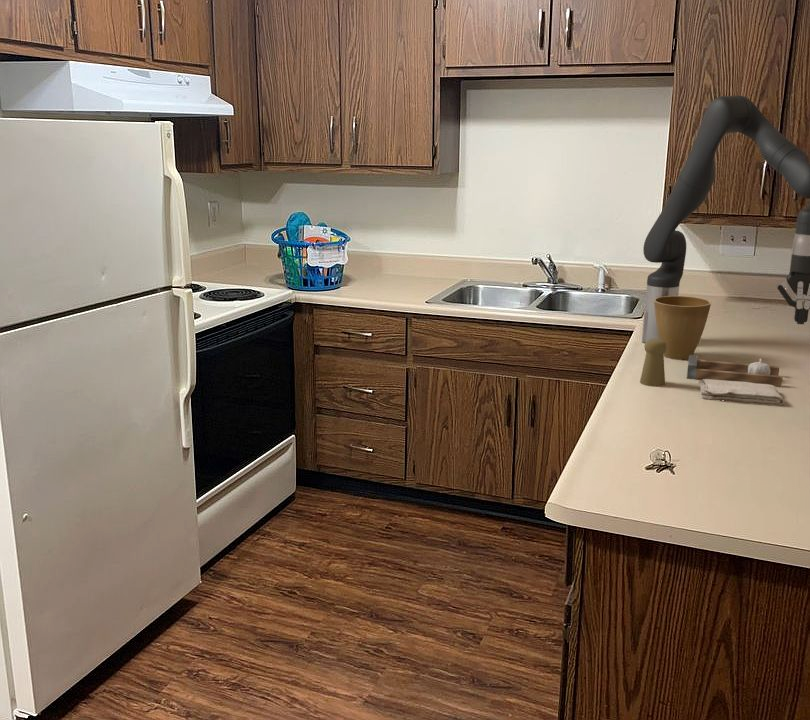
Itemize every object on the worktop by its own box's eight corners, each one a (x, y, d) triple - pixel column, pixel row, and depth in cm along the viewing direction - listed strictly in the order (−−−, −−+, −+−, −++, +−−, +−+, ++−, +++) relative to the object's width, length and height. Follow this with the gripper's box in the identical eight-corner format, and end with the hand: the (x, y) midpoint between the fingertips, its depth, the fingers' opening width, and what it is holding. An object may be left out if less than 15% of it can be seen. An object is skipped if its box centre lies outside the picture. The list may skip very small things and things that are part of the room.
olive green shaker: (634, 380, 205) (638, 338, 202) (654, 378, 207) (658, 336, 204) (649, 387, 200) (653, 343, 197) (670, 385, 202) (674, 341, 199)
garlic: (752, 375, 211) (755, 355, 210) (773, 379, 207) (776, 359, 206) (742, 379, 207) (744, 359, 206) (763, 384, 203) (765, 363, 202)
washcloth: (696, 387, 201) (698, 375, 200) (775, 393, 197) (777, 381, 196) (700, 401, 190) (701, 389, 189) (784, 408, 186) (785, 395, 185)
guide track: (686, 378, 207) (688, 365, 207) (687, 367, 218) (688, 354, 217) (781, 387, 200) (783, 373, 199) (777, 375, 211) (779, 362, 210)
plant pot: (649, 348, 238) (653, 294, 234) (703, 352, 234) (708, 297, 230) (650, 361, 224) (655, 303, 220) (707, 365, 220) (713, 306, 216)
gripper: (780, 253, 195) (772, 324, 199) (842, 256, 191) (832, 328, 195) (777, 250, 202) (769, 319, 206) (837, 252, 198) (828, 322, 202)
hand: (800, 323), depth 201 cm, fingers closed
